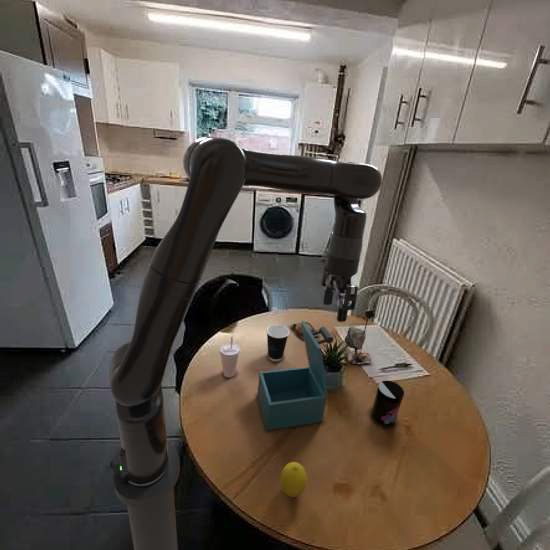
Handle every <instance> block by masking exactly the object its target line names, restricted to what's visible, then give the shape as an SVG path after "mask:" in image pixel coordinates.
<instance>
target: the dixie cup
mask: <svg viewBox="0 0 550 550" xmlns="http://www.w3.org/2000/svg"><path fill="white" fill-rule="evenodd" d="M265 332H266V338H267V339H266V341H267V343H266V344H267V356H268V359H269V360H270V361H272V362H280V361H281V360H282V359H283V357H284V355H285V349H286V347H287V342H288V338H289V335H290V329H288V327H286V326H284V325H282V324H271V325H269V326H268V327H266V331H265Z"/></svg>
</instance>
